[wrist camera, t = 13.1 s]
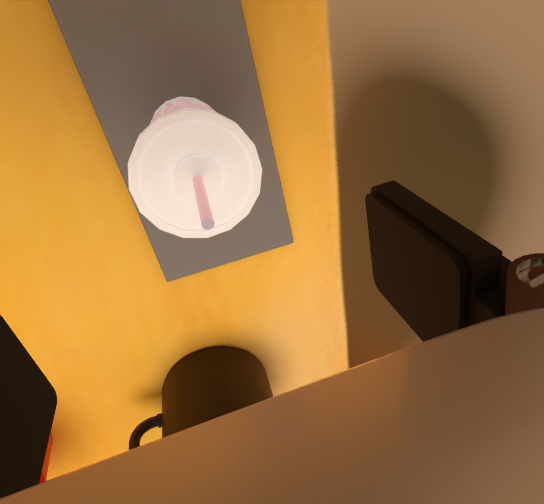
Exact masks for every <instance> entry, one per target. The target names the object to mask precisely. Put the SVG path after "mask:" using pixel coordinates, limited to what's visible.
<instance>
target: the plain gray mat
mask: <svg viewBox="0 0 544 504" xmlns="http://www.w3.org/2000/svg"><path fill="white" fill-rule="evenodd" d="M48 1H49V4H50V6H51V8H52V11H53V13H54V16H55V18H56V20H57V23H58V25H59V27H60V30H61V32H62V34H63V37H64V39H65V42H66V44H67V46H68V49H69V51H70V53H71V56H72V58H73V60H74V63H75V65H76V68H77V70H78V72H79V75H80V77H81V79H82V82H83V84H84V86H85V89H86V91H87V94H88V96H89V98H90V101H91V103H92V105H93V108H94V110H95V112H96V115H97V117H98V120H99V122H100V124H101V127H102V129H103V131H104V134H105V136H106V139H107V141H108V143H109V146H110V148H111V150H112V153H113V155H114V157H115V160H116V162H117V165H118V167H119V169H120V172H121V174H122V176H123V179H124V181H125V183H126V186H127V188H128V191H129V181H128V161H129V158H130V156H131V153H132V151H133V148H134V146H135V143H136V141H137V139H138V136H139V134H140V133H142V132H143V131H144V130H145V129H146V128H147V127H148V126H149V125H150V123H151V120H152V118H153V115H154V113H155V111H156V110H157V109H158V108H159V107H160V106H161V105H162V104H164V103H165V102H166V101H168V100H171V99H174V98H177V97H191V98H196V99H198V100H200V101H202V102H204V103H206V104H208V105H209V106H210V107H211V108H212V109H213V110H214V111H216V112H217V113H219V114H221V115H223V116H225V117H227V118H228V119H230V120H232V121H234V122H235V123H237V124H238V125H239V127H240V128H241V129H242V130H243V131H244V133H245V134H246V135H247V136H248V137H249V138H250V140H251V141H252V142H253V143H254V144H255V147H256V150H257V153H258V157H259V160H260V163H261V167H262V177H261V186H260V194H259V196H258V197H257V199H256V201H255V203H254V205H253V207H252V209H251V210H250V212H249V214H248V215H247V216H246V217H245V218H243V219H242V220H241V221H240V222H239V223H238V224H236V225H235V226H234V227H233V228H232V229H231V230H228V231H225V232H223V233H220V234H217V235H214V236H212V237H209V238H182V237H179V236H176V235H174V234H171V233H168V232H165V231H163V230H160V229H158V228H157V227H156V226H155V225H154V224H153V223H152V222H150V221H149V220H148V219H147V218H146V217H145V216H144V215H142V214H141V213H140V211H139V209H138V207H137V205H136V203H135V201H134V199H133V197H132V195H131V193H130V191H129V193H130V195H131V198H132V200H133V202H134V205H135V207H136V209H137V212H138V214H139V217H140V219H141V221H142V224H143V226H144V228H145V231H146V233H147V235H148V238H149V240H150V243H151V245H152V247H153V250H154V252H155V254H156V257H157V259H158V261H159V264H160V266H161V269H162V271H163V273H164V276H165V278H166V280H167V282H169V281H172V280H175V279H179V278H182V277H185V276H188V275H191V274H195V273H198V272H201V271H204V270H207V269H211V268H214V267H217V266H220V265H224V264H227V263H230V262H233V261H236V260H240V259H243V258H246V257H249V256H252V255H256V254H259V253H262V252H265V251H269V250H272V249H275V248H278V247H281V246H285V245H288V244H291V243H294V242H293V238H292V233H291V229H290V224H289V220H288V215H287V210H286V206H285V201H284V197H283V192H282V188H281V183H280V179H279V174H278V170H277V165H276V161H275V156H274V152H273V147H272V143H271V138H270V134H269V129H268V125H267V120H266V116H265V111H264V107H263V102H262V97H261V93H260V88H259V84H258V79H257V75H256V70H255V66H254V61H253V57H252V52H251V48H250V43H249V39H248V34H247V30H246V25H245V21H244V16H243V12H242V7H241V3H240V0H48Z"/></svg>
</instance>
